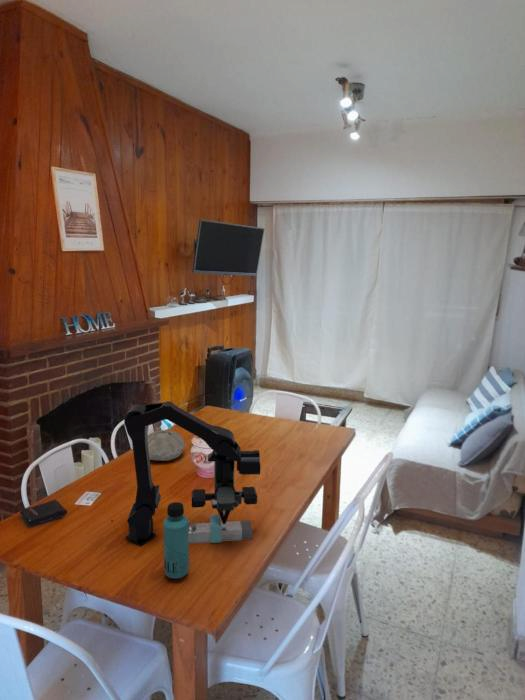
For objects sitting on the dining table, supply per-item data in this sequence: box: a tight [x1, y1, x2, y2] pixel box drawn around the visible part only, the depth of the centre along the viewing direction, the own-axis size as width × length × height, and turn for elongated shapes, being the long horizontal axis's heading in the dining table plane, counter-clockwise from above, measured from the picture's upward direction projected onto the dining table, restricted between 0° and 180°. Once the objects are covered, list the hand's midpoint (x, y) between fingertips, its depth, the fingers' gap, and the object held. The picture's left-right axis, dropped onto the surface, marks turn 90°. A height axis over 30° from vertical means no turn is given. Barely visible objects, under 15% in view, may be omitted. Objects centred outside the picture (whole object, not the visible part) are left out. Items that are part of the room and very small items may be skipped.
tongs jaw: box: [194, 520, 252, 528], centre depth 140 cm, size 18×2×3 cm, turn 98°
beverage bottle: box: [162, 501, 190, 579], centre depth 120 cm, size 6×7×20 cm
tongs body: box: [188, 522, 253, 545], centre depth 138 cm, size 20×4×4 cm, turn 98°
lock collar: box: [209, 513, 222, 544], centre depth 138 cm, size 3×6×5 cm, turn 8°
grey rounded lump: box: [147, 429, 186, 462], centre depth 192 cm, size 18×18×10 cm
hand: (224, 523), depth 139 cm, fingers closed
